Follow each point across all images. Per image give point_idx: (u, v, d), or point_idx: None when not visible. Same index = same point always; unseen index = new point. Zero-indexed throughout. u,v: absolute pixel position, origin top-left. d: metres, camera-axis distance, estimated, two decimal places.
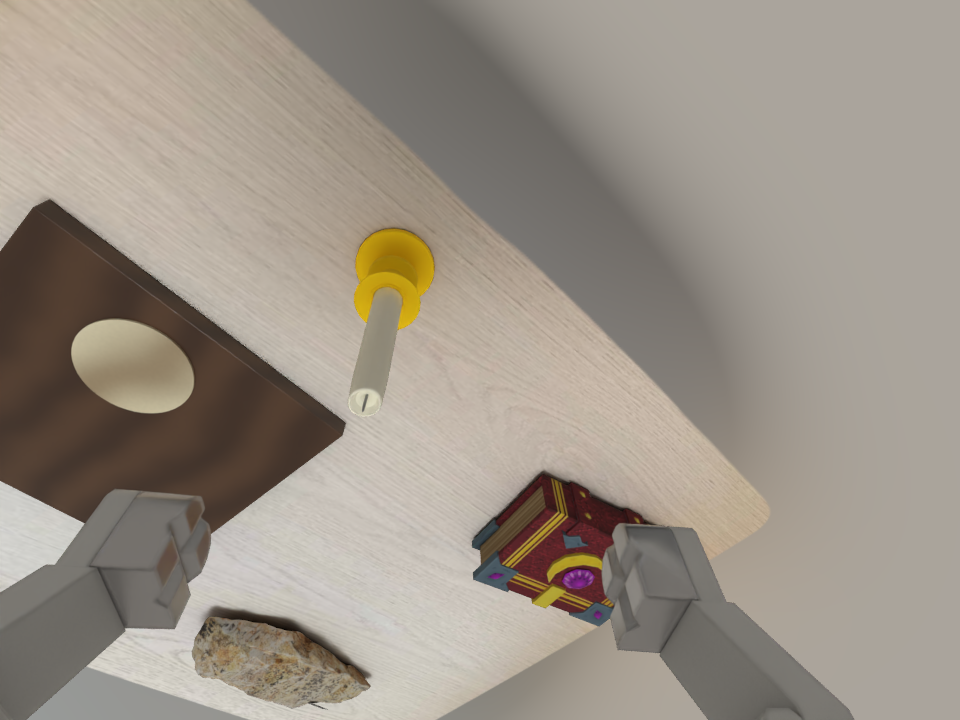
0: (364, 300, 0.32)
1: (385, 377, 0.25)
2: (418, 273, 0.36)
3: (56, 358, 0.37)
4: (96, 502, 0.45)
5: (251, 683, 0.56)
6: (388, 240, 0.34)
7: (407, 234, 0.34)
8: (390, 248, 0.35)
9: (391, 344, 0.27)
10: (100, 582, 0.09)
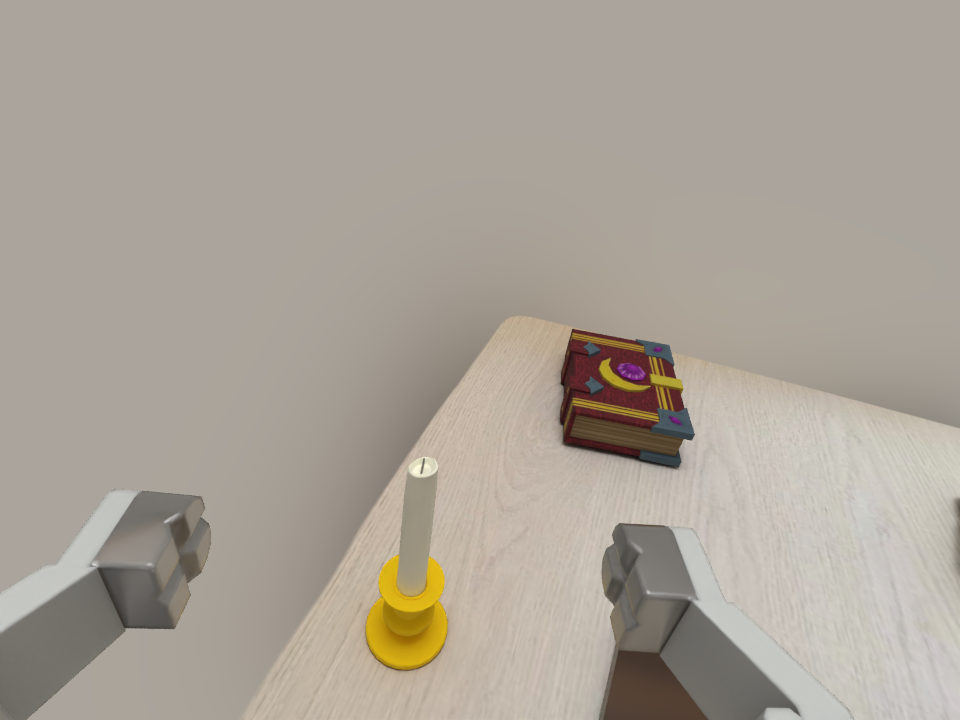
0: (418, 602, 0.31)
1: None
2: None
3: None
4: None
5: None
6: (378, 638, 0.33)
7: (367, 623, 0.34)
8: (386, 634, 0.34)
9: None
10: (100, 582, 0.09)
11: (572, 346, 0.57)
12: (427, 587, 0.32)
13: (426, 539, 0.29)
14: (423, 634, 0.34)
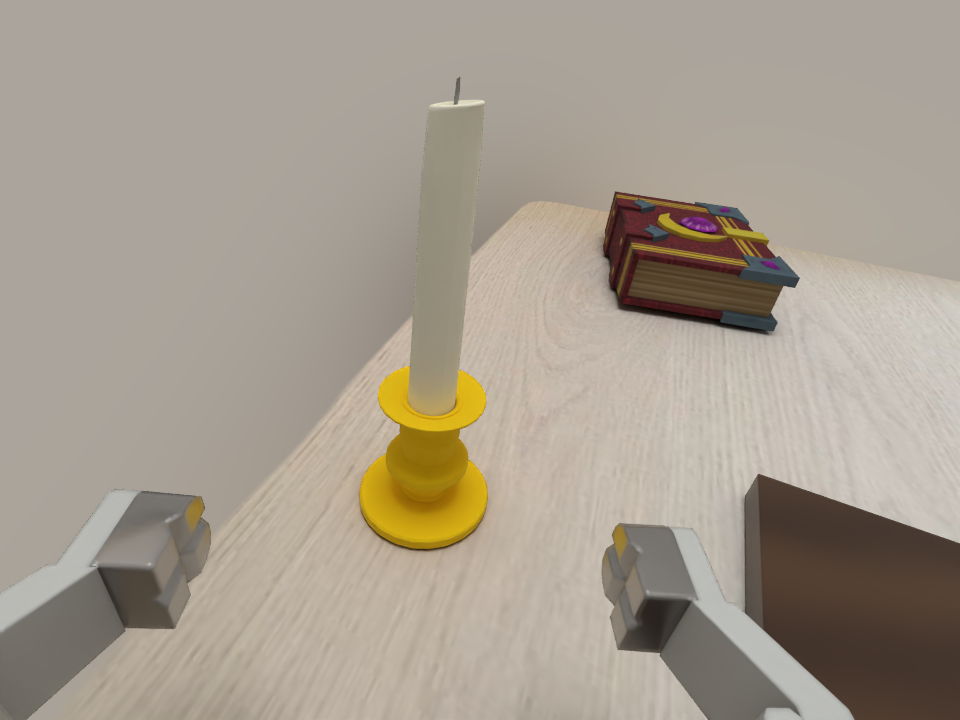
0: (445, 421, 0.18)
1: None
2: None
3: None
4: None
5: None
6: (379, 505, 0.21)
7: (361, 486, 0.22)
8: (392, 499, 0.21)
9: None
10: (100, 582, 0.09)
11: (620, 202, 0.45)
12: (458, 405, 0.19)
13: (460, 285, 0.16)
14: (451, 500, 0.21)
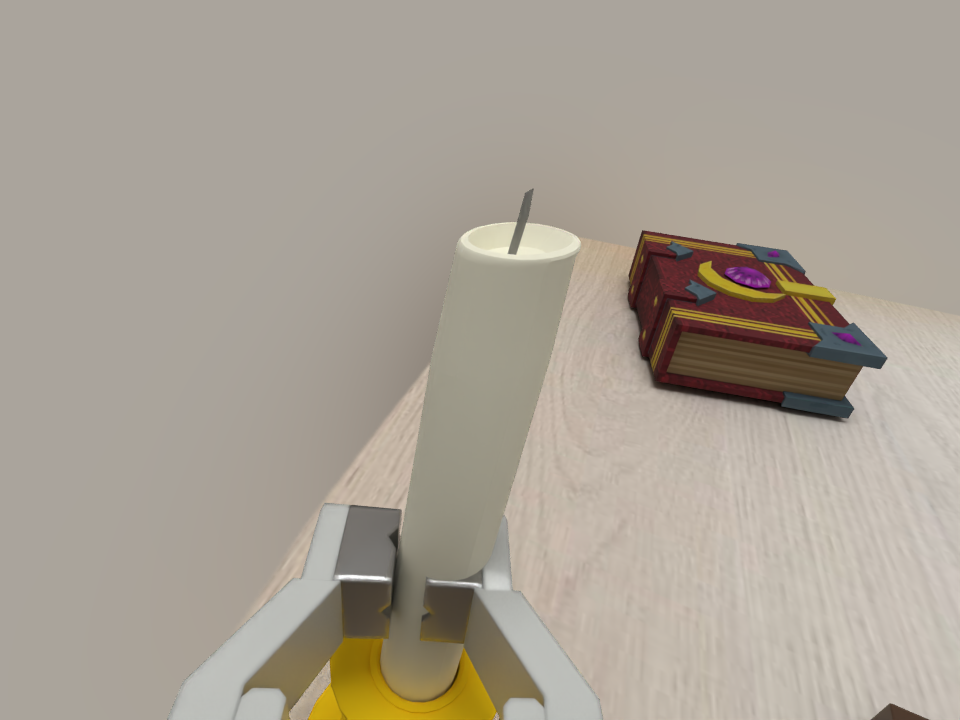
0: None
1: None
2: None
3: None
4: None
5: None
6: None
7: None
8: None
9: None
10: (334, 594, 0.09)
11: (650, 247, 0.37)
12: (463, 672, 0.12)
13: (488, 539, 0.09)
14: None
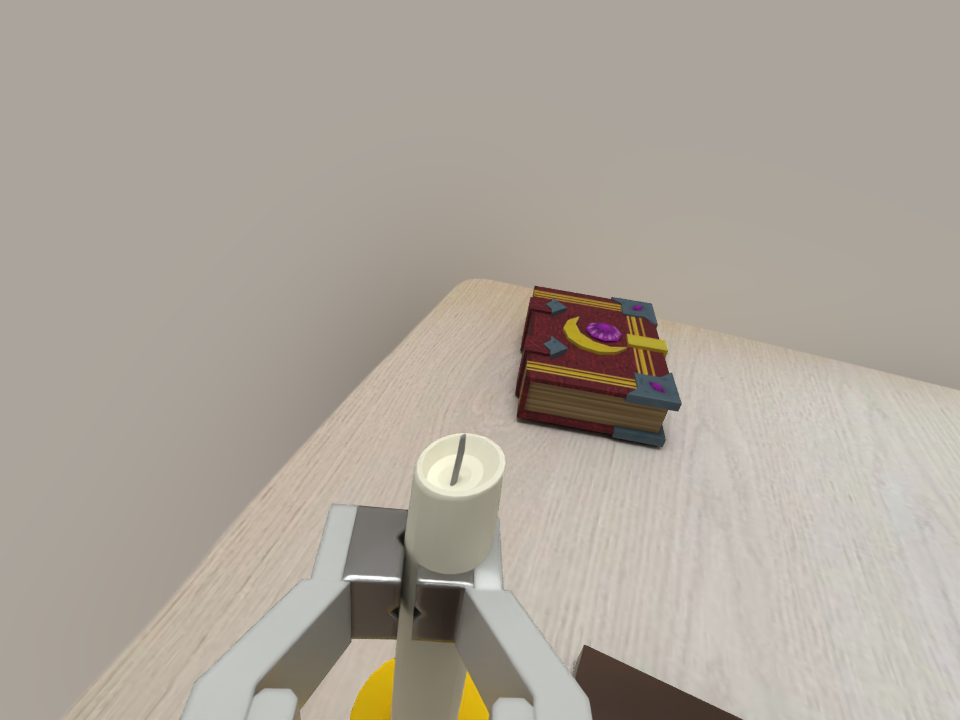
0: None
1: None
2: None
3: None
4: None
5: None
6: None
7: None
8: None
9: None
10: (343, 595, 0.09)
11: (532, 304, 0.46)
12: None
13: None
14: None
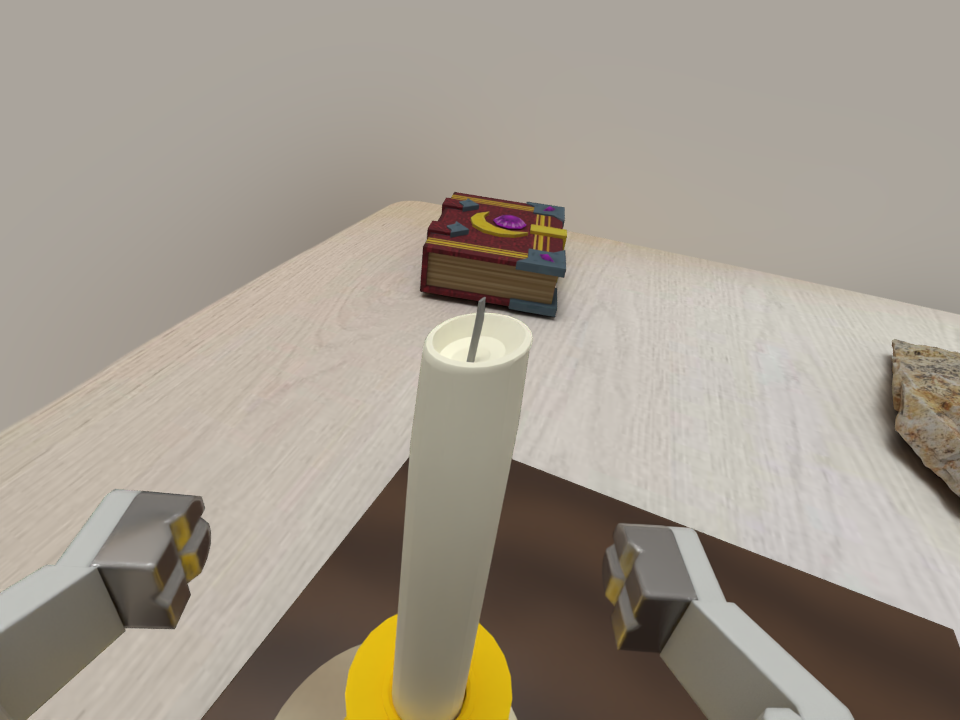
0: None
1: None
2: None
3: None
4: None
5: None
6: None
7: None
8: None
9: None
10: (100, 582, 0.09)
11: (446, 201, 0.49)
12: (471, 690, 0.13)
13: None
14: None
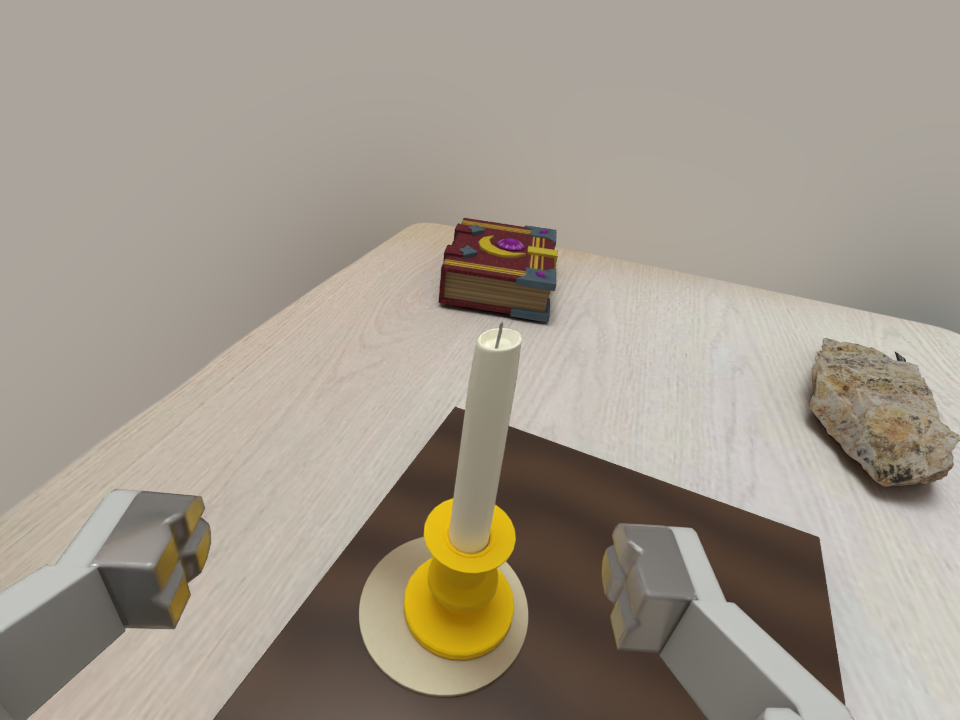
0: (489, 557, 0.22)
1: None
2: None
3: None
4: None
5: (908, 395, 0.41)
6: (428, 626, 0.24)
7: (406, 611, 0.24)
8: (437, 618, 0.24)
9: None
10: (99, 582, 0.09)
11: (458, 227, 0.59)
12: (492, 536, 0.23)
13: (500, 458, 0.20)
14: (486, 605, 0.25)
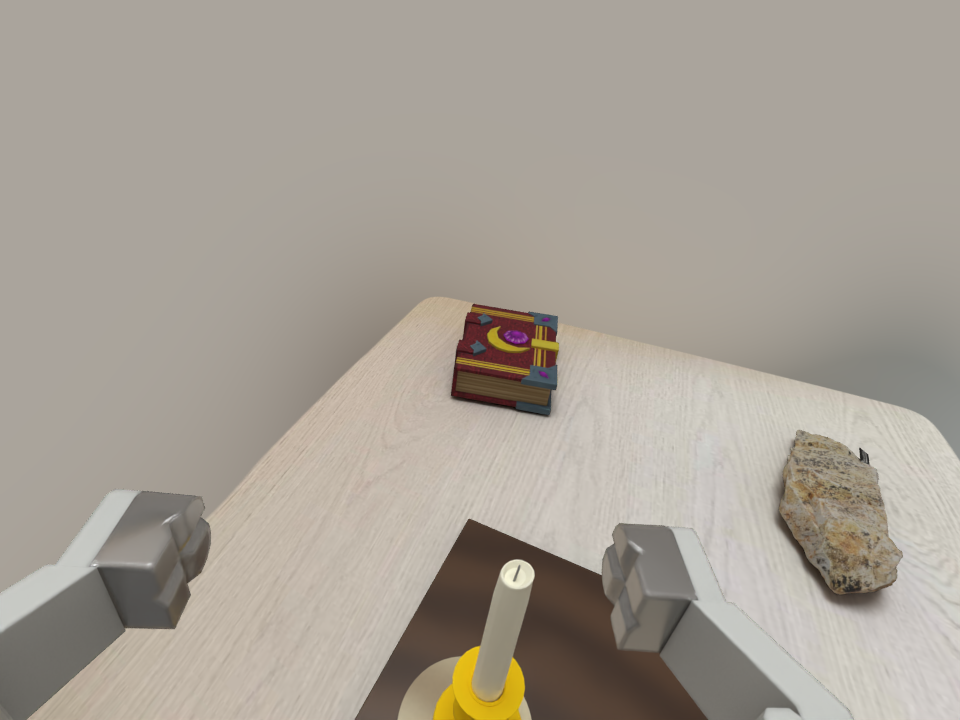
0: (504, 705, 0.28)
1: None
2: None
3: None
4: None
5: (863, 506, 0.47)
6: None
7: None
8: None
9: None
10: (100, 582, 0.09)
11: (468, 317, 0.65)
12: (506, 684, 0.29)
13: (515, 643, 0.26)
14: None
